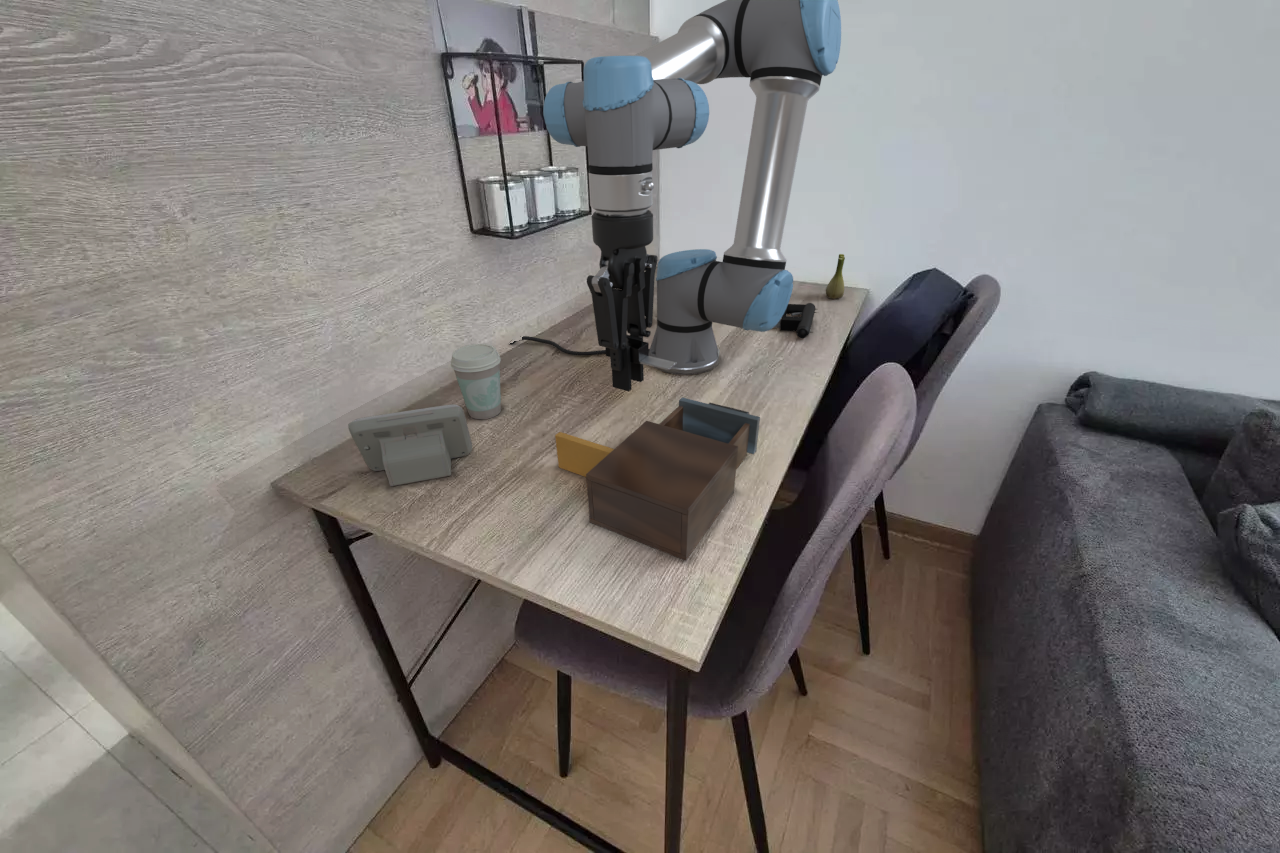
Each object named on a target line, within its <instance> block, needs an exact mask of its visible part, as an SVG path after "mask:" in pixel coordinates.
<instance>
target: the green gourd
mask: <svg viewBox="0 0 1280 853" xmlns="http://www.w3.org/2000/svg"><path fill="white" fill-rule="evenodd" d="M845 260H846V257H845V254H844V253H839V254H838V258H837V264H836V268H835V273H834V275H833V276H832V278H831V279H830V280H829V282H828V283H827V286H826V288H825V295H826V297H827V298H828V299H832V300H838V299H841V298H843V297H844V293H845V281H844V276H843V268H844V264H845Z"/></svg>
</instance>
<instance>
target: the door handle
mask: <svg viewBox="0 0 1280 853" xmlns="http://www.w3.org/2000/svg"><path fill="white" fill-rule="evenodd" d="M816 311H817V308H816V305H815V304H814V303H812V302H808V303H805V304H801V303H800V304H799V303H788V306H787V308H786V310H785V312H784V314H783V316H782V318H781V319H780V321H779V322H778V323H777V324H776V325H775V326H774V327H773V328H777V329H779V331H780V332H796V336H797V337H798V338H799V339H801V340H802V339H806V338H807V337H808V336H809V335H810V333H814V331H811V328H812V324H813V320H814V316H815V314H818V312H816Z"/></svg>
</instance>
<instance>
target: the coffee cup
mask: <svg viewBox="0 0 1280 853" xmlns="http://www.w3.org/2000/svg"><path fill="white" fill-rule="evenodd" d="M501 361H502V358H501V356H500V354H499V352H498V351H497V348H496V347H495V346H493V345H491V344H487V343H473V344H467V345H463V346H460V347H458V348H456V349H454V350H453V352H452V353H451V359H450V367H451V369H452V370H453V372H454V374H455V377H456V381H457V384H458V386H459V390H460V392H461V395H462V398H463V402H464V405H465V407H466V410H467V412H468V416H469V417H471V418H472V419H475V420H488V419H491V418H495V417H496V416H498V415H499V414H500V413H501V411H502V401H501V400H502V398H501V394H502V393H501V373H500V372H501V371H500V369H501V368H500V363H501Z"/></svg>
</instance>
